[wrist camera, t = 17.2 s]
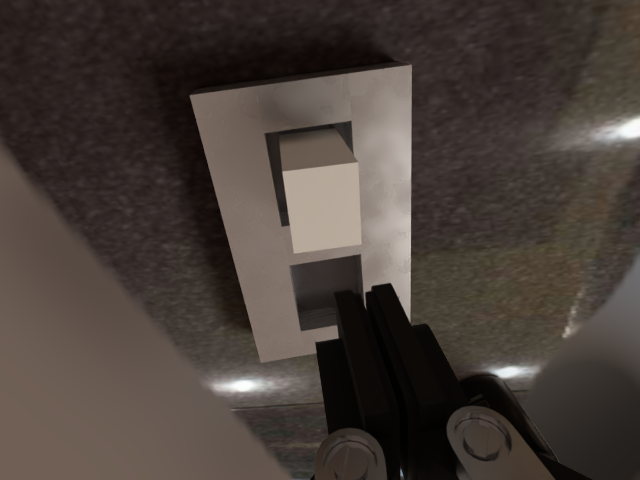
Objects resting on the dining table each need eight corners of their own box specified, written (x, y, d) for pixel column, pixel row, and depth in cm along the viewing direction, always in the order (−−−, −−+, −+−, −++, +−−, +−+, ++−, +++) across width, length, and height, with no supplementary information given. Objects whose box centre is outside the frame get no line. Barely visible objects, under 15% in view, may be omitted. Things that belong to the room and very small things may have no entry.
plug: (278, 134, 24) (282, 171, 18) (335, 128, 24) (358, 162, 18) (287, 200, 26) (294, 253, 20) (339, 194, 26) (361, 244, 20)
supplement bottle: (444, 423, 42) (503, 554, 31) (441, 381, 38) (506, 513, 28) (505, 407, 42) (584, 534, 31) (507, 365, 38) (597, 491, 28)
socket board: (198, 87, 23) (189, 95, 20) (395, 60, 23) (411, 64, 21) (261, 335, 33) (260, 362, 30) (399, 312, 33) (410, 336, 31)
